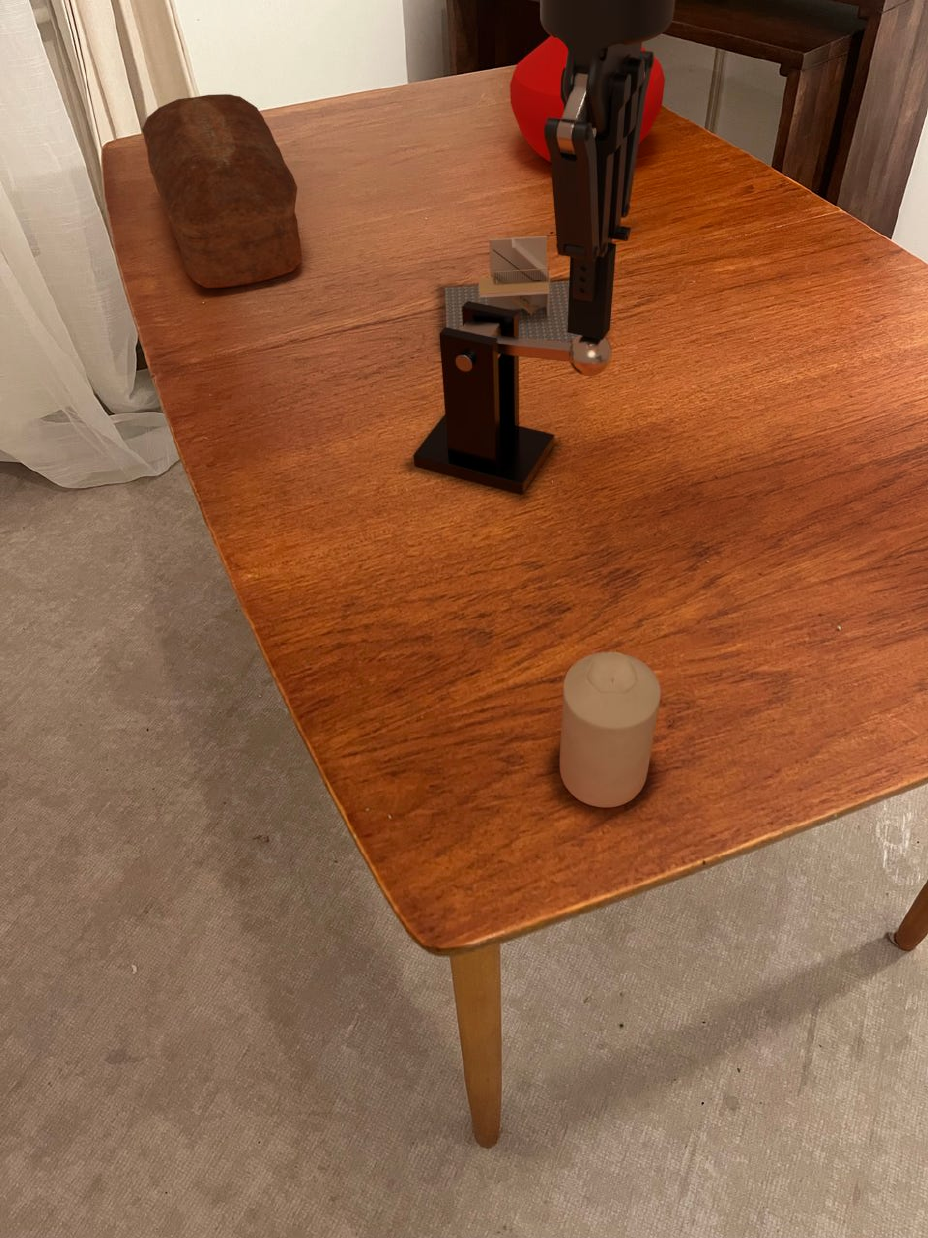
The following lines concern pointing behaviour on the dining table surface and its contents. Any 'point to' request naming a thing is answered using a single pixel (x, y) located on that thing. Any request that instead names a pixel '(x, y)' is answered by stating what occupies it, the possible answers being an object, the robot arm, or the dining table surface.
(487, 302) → the architectural model
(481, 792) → the dining table surface
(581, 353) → the lever
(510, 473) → the bracket
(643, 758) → the candle
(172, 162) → the bread
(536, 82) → the vase
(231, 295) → the dining table surface
